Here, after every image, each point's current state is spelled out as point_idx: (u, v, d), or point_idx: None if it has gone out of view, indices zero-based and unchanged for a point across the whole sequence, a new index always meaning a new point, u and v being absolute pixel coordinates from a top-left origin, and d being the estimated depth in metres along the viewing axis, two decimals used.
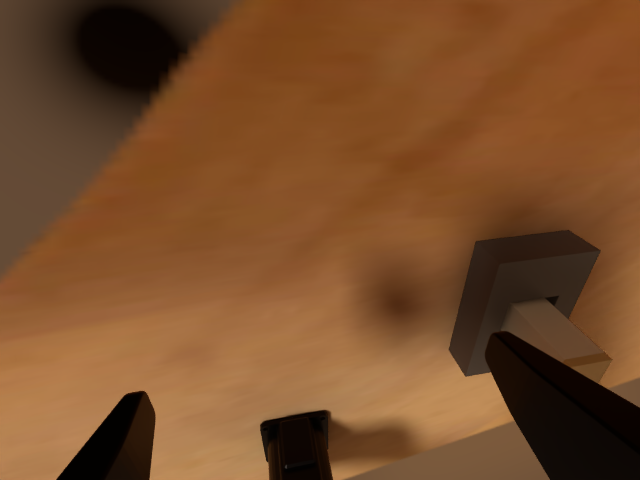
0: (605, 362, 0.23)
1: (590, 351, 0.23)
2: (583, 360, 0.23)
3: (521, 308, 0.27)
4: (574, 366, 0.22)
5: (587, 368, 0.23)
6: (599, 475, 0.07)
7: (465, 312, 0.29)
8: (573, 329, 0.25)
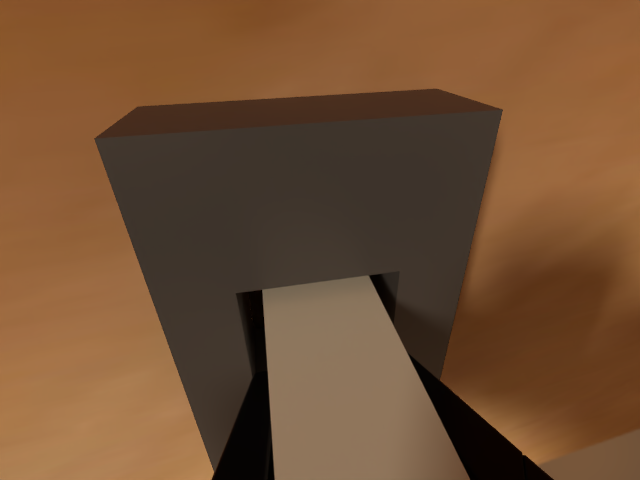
0: None
1: None
2: None
3: (281, 309, 0.09)
4: None
5: None
6: None
7: None
8: (401, 383, 0.07)
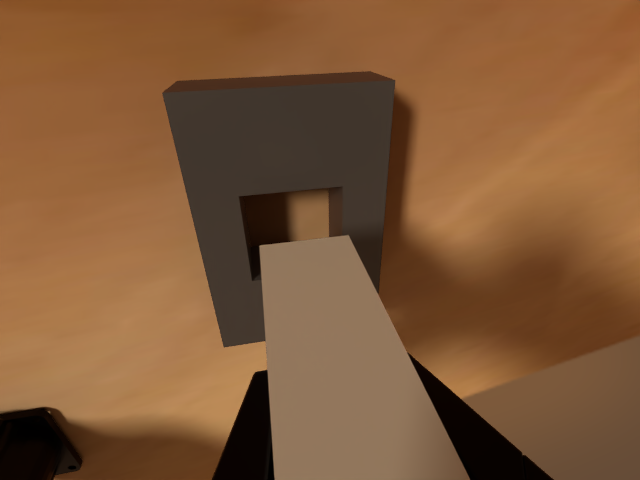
0: None
1: None
2: None
3: (281, 308, 0.09)
4: None
5: None
6: None
7: None
8: (401, 382, 0.07)
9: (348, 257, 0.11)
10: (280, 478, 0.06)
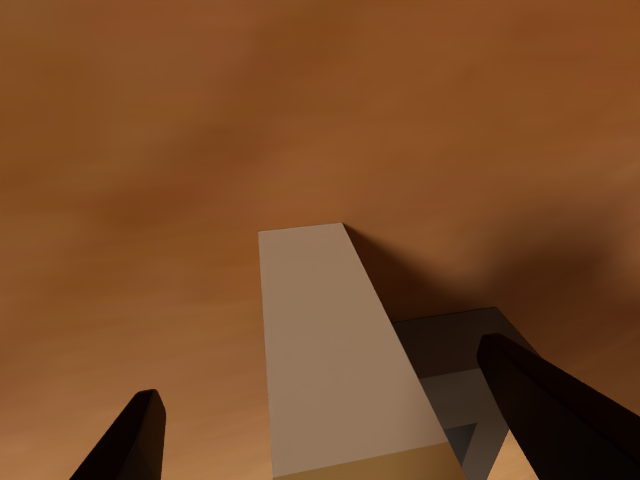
0: None
1: (396, 437, 0.06)
2: None
3: (277, 285, 0.10)
4: None
5: None
6: (588, 478, 0.07)
7: None
8: (383, 347, 0.08)
9: (341, 242, 0.12)
10: (274, 422, 0.06)
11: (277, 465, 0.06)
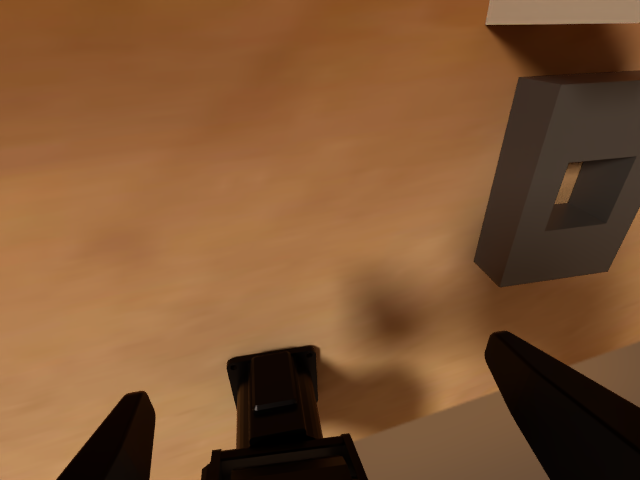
0: None
1: None
2: None
3: None
4: None
5: None
6: (599, 475, 0.07)
7: (500, 194, 0.21)
8: None
9: None
10: None
11: None
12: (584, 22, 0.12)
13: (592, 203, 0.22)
